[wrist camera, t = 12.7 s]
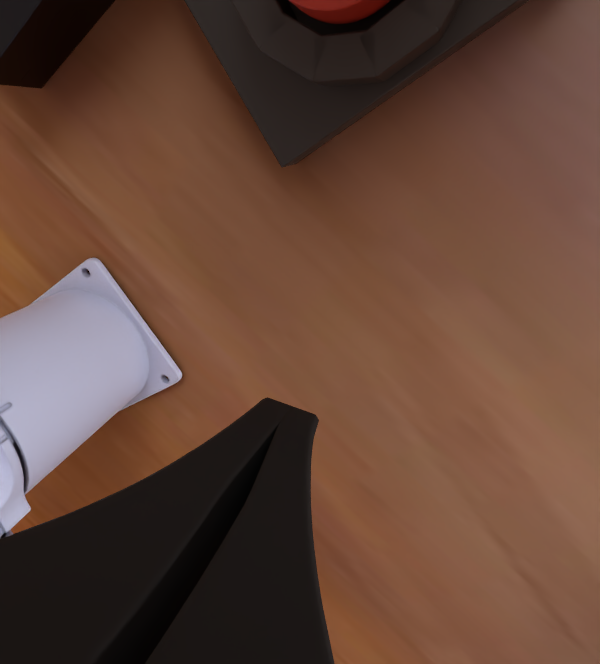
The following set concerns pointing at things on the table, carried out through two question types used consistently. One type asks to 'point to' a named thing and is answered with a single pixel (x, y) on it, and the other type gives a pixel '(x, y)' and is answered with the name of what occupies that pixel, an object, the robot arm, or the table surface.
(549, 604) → the table surface
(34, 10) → the dimmer panel
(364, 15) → the lamp switch
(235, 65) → the switch box
